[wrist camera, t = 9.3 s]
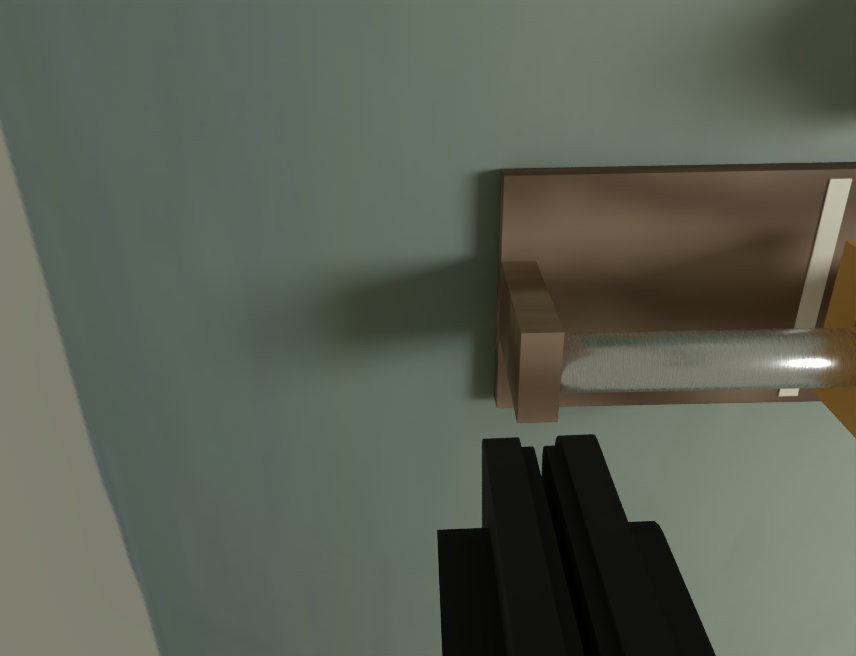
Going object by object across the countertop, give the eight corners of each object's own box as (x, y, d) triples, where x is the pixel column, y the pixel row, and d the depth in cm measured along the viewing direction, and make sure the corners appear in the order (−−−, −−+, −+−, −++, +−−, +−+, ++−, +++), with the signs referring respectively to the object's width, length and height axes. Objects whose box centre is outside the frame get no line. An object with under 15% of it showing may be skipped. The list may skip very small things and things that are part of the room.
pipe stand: (501, 169, 41) (527, 231, 31) (943, 160, 41) (1103, 220, 31) (494, 395, 47) (513, 503, 38) (873, 387, 48) (987, 493, 38)
